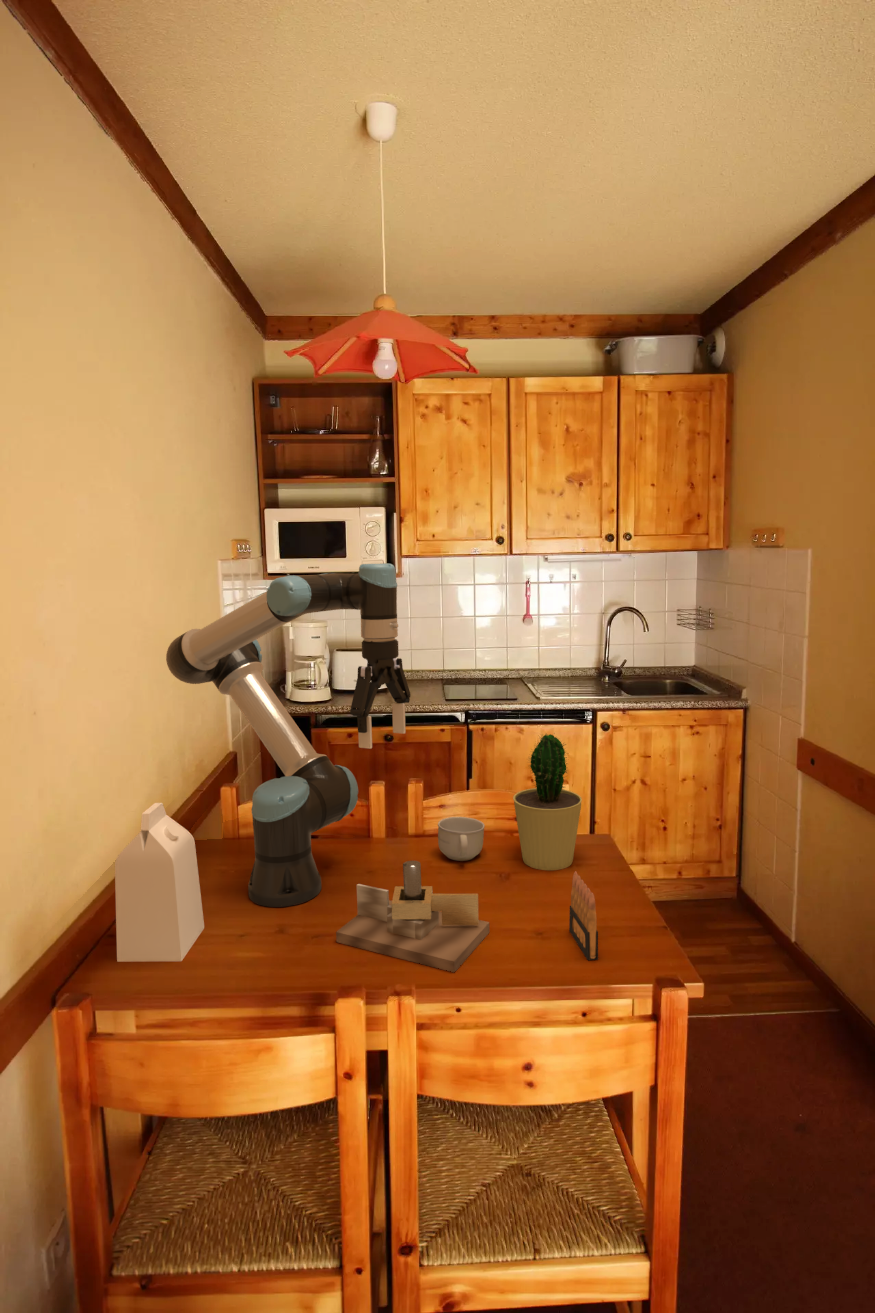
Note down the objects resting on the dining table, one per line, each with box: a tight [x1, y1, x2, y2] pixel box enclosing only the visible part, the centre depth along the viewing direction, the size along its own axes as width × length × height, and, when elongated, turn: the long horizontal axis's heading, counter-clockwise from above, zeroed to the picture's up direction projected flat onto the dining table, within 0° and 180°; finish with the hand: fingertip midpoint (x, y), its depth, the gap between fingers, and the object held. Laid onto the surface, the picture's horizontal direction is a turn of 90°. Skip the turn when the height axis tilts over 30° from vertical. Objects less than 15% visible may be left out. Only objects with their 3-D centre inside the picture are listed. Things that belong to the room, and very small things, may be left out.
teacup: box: [437, 816, 485, 862], centre depth 174 cm, size 14×11×8 cm
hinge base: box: [335, 883, 490, 973], centre depth 139 cm, size 24×15×8 cm, turn 63°
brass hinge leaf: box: [391, 885, 479, 925], centre depth 139 cm, size 16×7×6 cm, turn 88°
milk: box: [114, 802, 205, 963], centre depth 137 cm, size 12×12×26 cm
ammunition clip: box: [568, 870, 599, 961], centre depth 135 cm, size 11×2×12 cm, turn 8°
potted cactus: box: [512, 732, 583, 871], centre depth 171 cm, size 15×15×30 cm
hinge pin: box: [402, 860, 422, 920], centre depth 139 cm, size 3×3×12 cm
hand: (383, 740), depth 158 cm, fingers open, 13 cm apart
